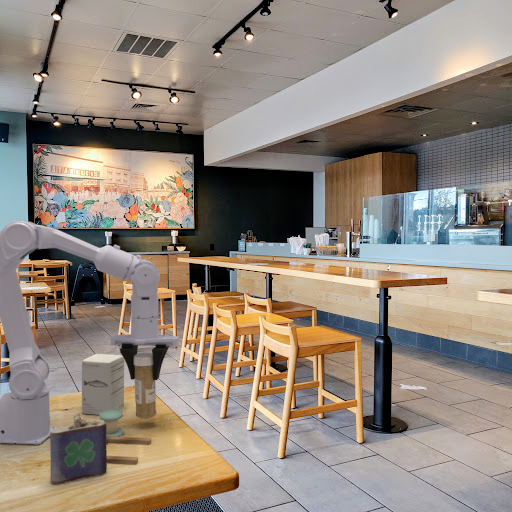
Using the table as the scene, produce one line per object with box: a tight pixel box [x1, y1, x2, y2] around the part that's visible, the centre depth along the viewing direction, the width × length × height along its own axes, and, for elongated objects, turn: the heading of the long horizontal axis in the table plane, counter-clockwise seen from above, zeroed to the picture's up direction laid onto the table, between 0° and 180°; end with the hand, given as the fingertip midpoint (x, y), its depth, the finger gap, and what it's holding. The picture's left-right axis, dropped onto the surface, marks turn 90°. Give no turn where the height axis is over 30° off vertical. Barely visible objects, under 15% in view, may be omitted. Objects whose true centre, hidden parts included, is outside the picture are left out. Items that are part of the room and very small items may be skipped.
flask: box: [49, 413, 108, 485], centre depth 86 cm, size 9×3×11 cm, turn 117°
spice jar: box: [134, 352, 157, 420], centre depth 108 cm, size 5×5×14 cm
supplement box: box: [81, 353, 125, 416], centre depth 117 cm, size 7×7×13 cm
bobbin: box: [98, 409, 124, 437], centre depth 103 cm, size 5×5×4 cm
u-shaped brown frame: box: [106, 436, 152, 465], centre depth 96 cm, size 10×10×1 cm
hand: (144, 378), depth 108 cm, fingers closed on spice jar, 4 cm apart
